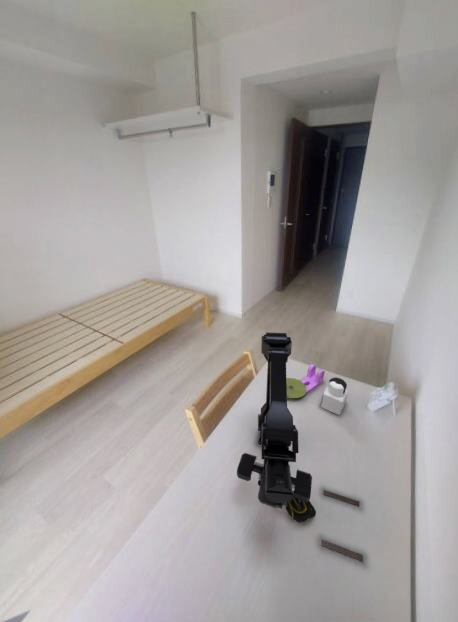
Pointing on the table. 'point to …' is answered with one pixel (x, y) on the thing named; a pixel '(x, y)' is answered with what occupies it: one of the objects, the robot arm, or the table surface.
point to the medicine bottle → (335, 396)
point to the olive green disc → (295, 388)
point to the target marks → (336, 547)
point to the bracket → (313, 378)
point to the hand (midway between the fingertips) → (271, 493)
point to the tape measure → (300, 509)
